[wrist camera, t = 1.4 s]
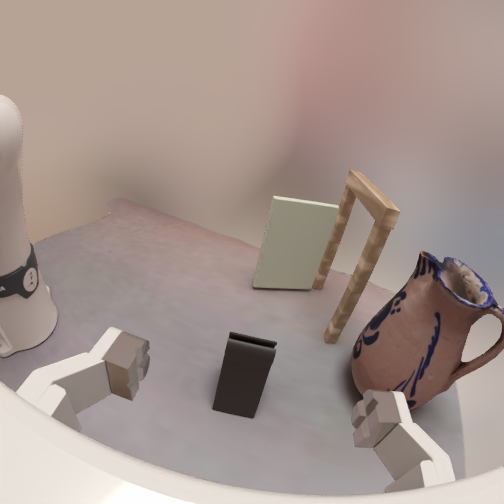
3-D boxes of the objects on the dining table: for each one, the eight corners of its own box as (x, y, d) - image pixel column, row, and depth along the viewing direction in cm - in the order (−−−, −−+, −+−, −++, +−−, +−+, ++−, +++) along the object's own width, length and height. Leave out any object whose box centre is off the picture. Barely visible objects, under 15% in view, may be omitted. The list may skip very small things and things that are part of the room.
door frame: (324, 343, 52) (386, 207, 37) (311, 282, 68) (349, 169, 54) (336, 344, 52) (400, 211, 38) (320, 284, 68) (360, 172, 54)
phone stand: (253, 418, 37) (273, 375, 30) (211, 409, 37) (220, 363, 31) (260, 371, 44) (279, 321, 38) (224, 363, 45) (235, 311, 38)
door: (251, 279, 64) (271, 193, 53) (307, 281, 67) (334, 202, 56) (253, 287, 61) (275, 198, 51) (310, 289, 64) (340, 208, 54)
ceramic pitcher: (360, 336, 55) (416, 229, 42) (439, 385, 45) (513, 288, 32) (319, 391, 42) (394, 267, 29) (418, 451, 33) (528, 351, 20)
